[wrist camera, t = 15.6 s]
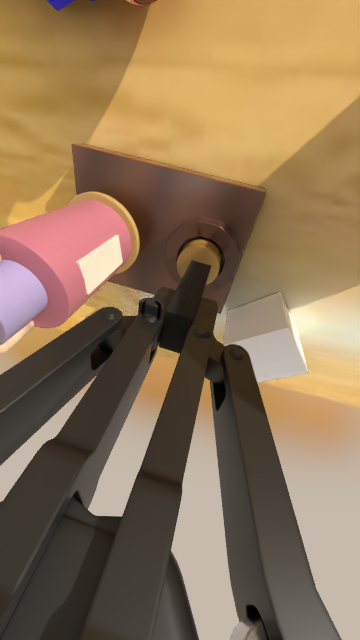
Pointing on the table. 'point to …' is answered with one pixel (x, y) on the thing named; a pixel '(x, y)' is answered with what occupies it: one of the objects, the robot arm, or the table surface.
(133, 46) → the table surface
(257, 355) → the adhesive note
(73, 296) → the doll
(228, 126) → the table surface
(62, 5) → the figurine character
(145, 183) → the brown wooden base
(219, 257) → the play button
